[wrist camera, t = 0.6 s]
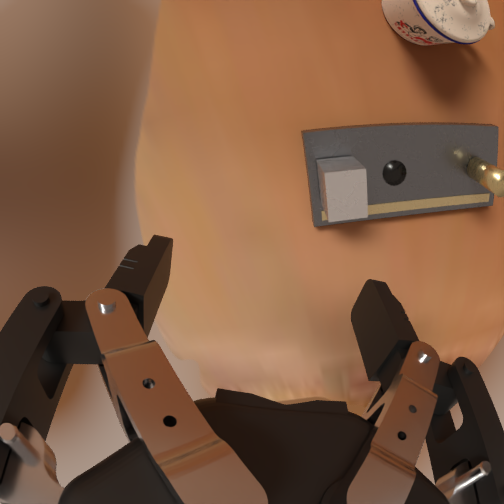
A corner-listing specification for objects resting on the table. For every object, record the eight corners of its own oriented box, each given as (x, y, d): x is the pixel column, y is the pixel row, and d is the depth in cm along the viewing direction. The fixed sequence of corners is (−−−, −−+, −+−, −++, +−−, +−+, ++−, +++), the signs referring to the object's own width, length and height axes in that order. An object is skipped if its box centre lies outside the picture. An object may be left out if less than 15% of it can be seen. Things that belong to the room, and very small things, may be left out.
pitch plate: (491, 124, 28) (527, 138, 22) (486, 201, 34) (517, 225, 27) (301, 130, 32) (310, 144, 25) (312, 221, 37) (321, 253, 31)
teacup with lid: (380, 39, 25) (429, 25, 15) (375, -29, 21) (418, -64, 11) (467, 61, 25) (529, 66, 15) (463, -3, 20) (521, -15, 10)
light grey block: (352, 155, 31) (366, 168, 27) (355, 198, 33) (367, 217, 29) (316, 159, 31) (324, 173, 27) (320, 202, 34) (328, 222, 30)
